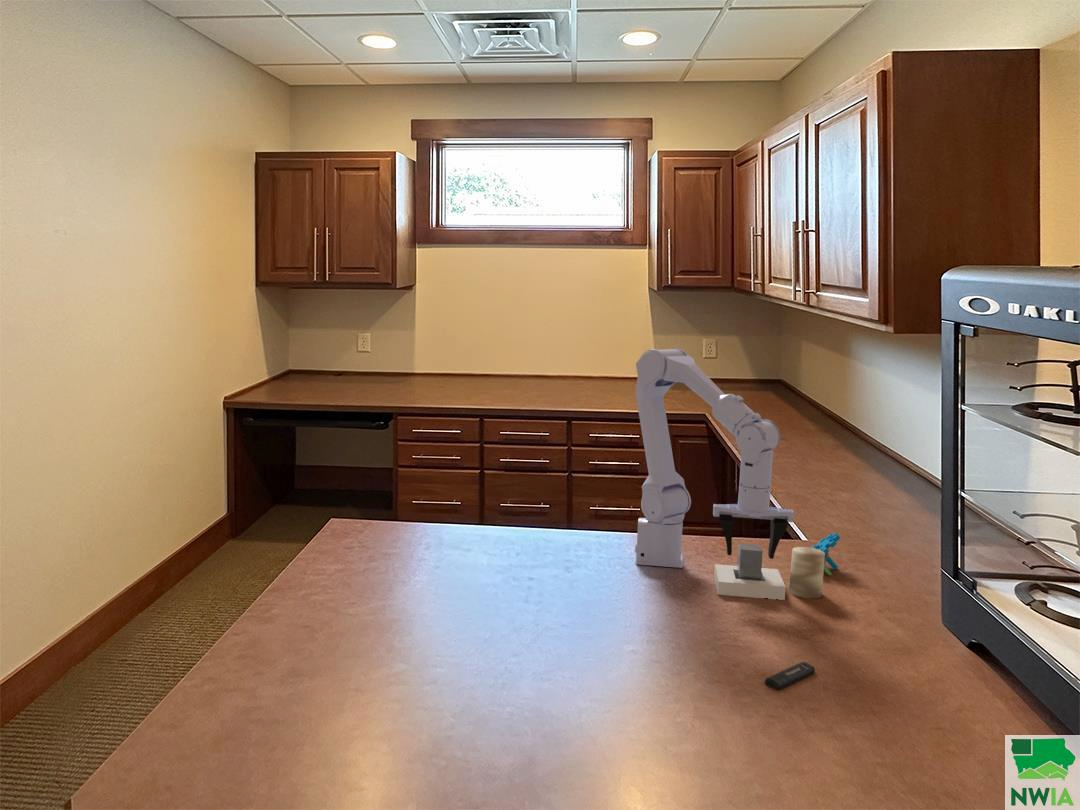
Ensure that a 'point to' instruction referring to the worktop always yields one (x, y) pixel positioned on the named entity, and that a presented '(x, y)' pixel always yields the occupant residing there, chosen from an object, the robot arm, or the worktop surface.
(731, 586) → the socket block
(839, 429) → the worktop surface
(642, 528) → the robot arm
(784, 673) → the usb stick
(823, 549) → the gear
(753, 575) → the square peg
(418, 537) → the worktop surface
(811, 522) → the worktop surface
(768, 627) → the worktop surface
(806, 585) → the round peg
